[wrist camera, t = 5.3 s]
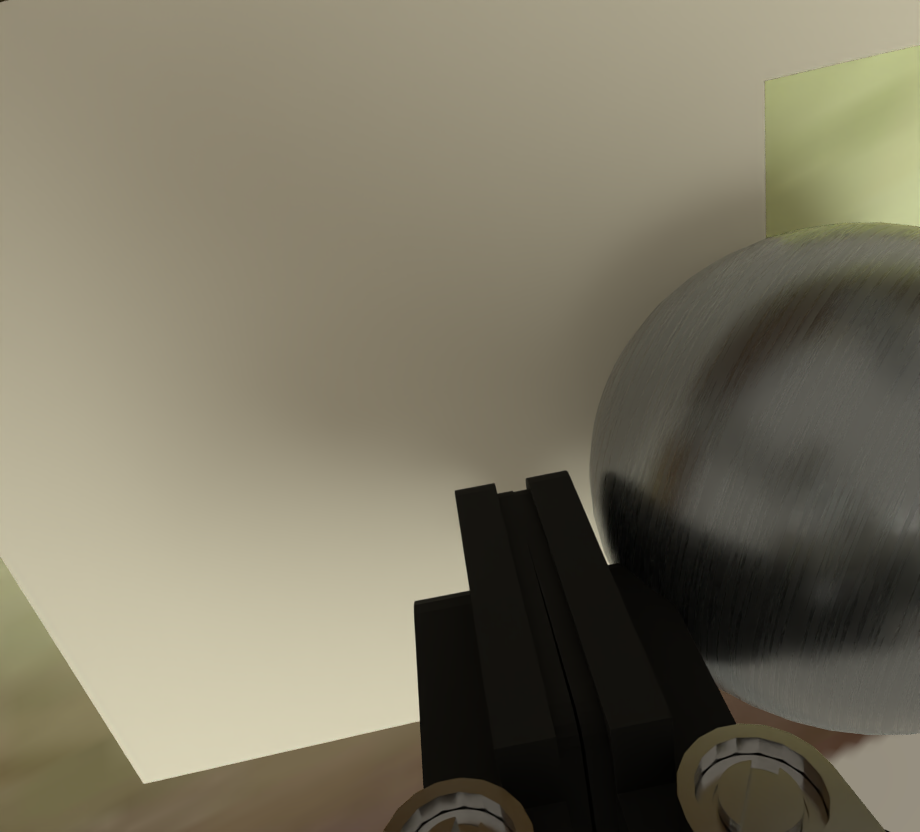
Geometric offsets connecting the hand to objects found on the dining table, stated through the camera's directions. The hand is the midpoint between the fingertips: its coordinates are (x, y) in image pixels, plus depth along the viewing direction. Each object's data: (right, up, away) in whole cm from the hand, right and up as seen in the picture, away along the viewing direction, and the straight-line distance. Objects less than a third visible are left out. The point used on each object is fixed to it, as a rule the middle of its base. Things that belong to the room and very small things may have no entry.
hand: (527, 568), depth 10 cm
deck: (+2, +4, +4) cm, 6 cm away
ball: (+4, +1, -1) cm, 4 cm away
